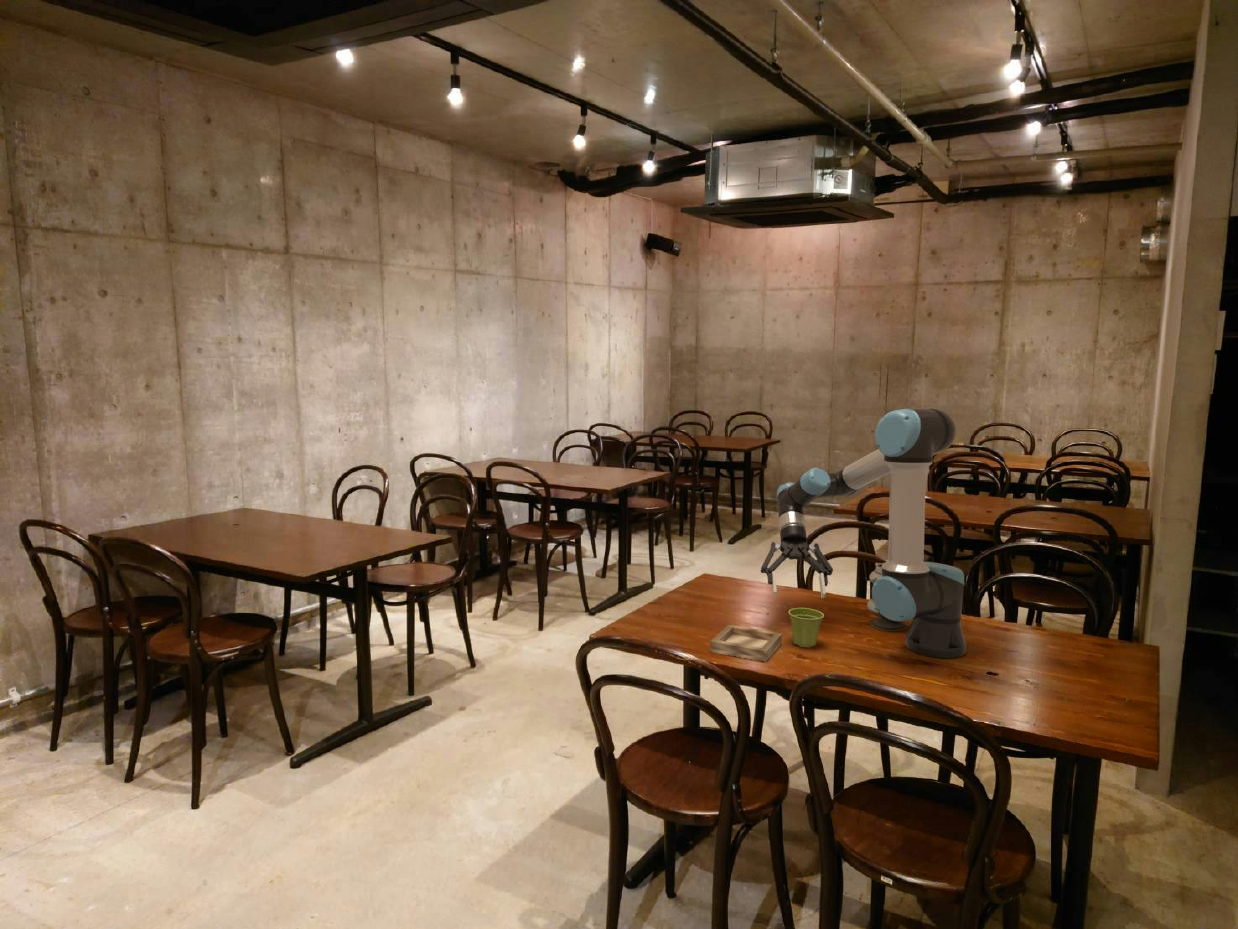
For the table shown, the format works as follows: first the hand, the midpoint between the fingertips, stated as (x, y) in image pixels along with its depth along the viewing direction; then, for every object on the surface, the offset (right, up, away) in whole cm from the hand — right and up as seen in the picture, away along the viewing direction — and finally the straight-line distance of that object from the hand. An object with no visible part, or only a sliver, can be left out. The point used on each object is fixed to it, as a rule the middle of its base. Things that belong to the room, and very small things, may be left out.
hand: (799, 595), depth 218 cm
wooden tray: (-16, -12, -10) cm, 23 cm away
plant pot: (0, -13, -6) cm, 14 cm away
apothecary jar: (+28, -11, +10) cm, 32 cm away
